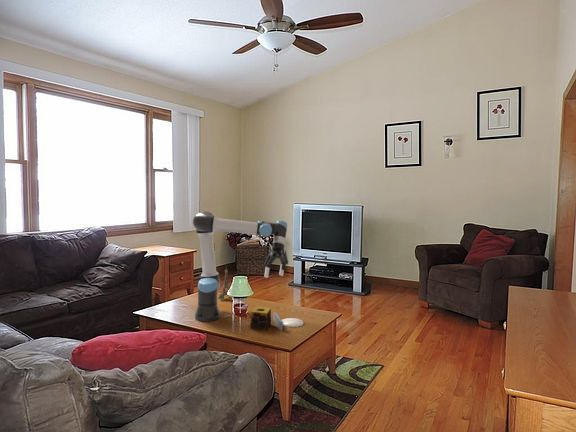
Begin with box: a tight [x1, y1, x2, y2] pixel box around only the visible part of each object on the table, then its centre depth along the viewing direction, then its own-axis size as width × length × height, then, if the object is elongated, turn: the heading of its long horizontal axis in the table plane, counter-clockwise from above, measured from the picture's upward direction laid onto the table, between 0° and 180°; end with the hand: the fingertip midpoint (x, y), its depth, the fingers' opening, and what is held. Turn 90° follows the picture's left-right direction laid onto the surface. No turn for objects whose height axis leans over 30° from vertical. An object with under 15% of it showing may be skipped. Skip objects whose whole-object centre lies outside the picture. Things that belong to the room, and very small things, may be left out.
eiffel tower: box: [217, 264, 233, 303], centre depth 286 cm, size 11×11×25 cm
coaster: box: [281, 317, 305, 328], centre depth 240 cm, size 14×14×1 cm
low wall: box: [272, 311, 284, 331], centre depth 236 cm, size 1×18×5 cm, turn 16°
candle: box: [250, 306, 272, 331], centre depth 233 cm, size 10×10×10 cm
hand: (273, 276), depth 246 cm, fingers open, 13 cm apart
